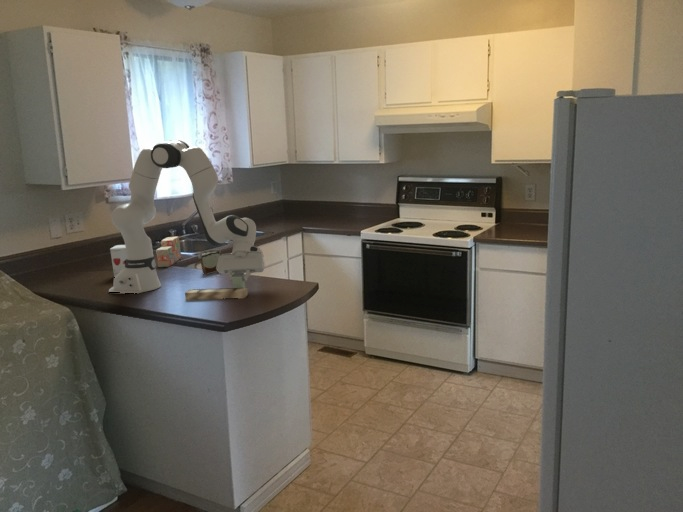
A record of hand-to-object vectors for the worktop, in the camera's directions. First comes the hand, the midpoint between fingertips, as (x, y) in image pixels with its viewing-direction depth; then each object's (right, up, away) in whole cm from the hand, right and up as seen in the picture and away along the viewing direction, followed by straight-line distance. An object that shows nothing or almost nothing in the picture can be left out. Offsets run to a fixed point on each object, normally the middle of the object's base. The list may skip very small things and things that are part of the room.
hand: (238, 280), depth 251 cm
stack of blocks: (-49, +7, +72) cm, 87 cm away
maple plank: (-8, -7, -3) cm, 11 cm away
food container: (-22, +2, +44) cm, 49 cm away
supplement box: (-64, 0, +47) cm, 79 cm away
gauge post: (0, -5, +2) cm, 5 cm away
